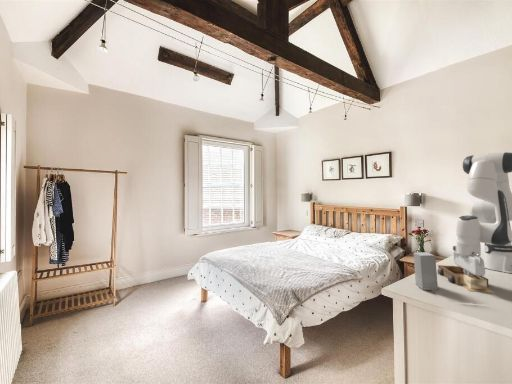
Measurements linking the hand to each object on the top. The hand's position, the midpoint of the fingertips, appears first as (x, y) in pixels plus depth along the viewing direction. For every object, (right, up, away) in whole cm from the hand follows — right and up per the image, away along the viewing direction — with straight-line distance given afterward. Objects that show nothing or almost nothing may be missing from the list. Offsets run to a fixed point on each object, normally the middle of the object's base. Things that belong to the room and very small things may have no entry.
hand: (468, 279), depth 122 cm
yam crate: (-1, -2, -5) cm, 5 cm away
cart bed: (+2, -3, +8) cm, 8 cm away
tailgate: (-1, -2, -4) cm, 4 cm away
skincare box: (-22, -3, -2) cm, 22 cm away
